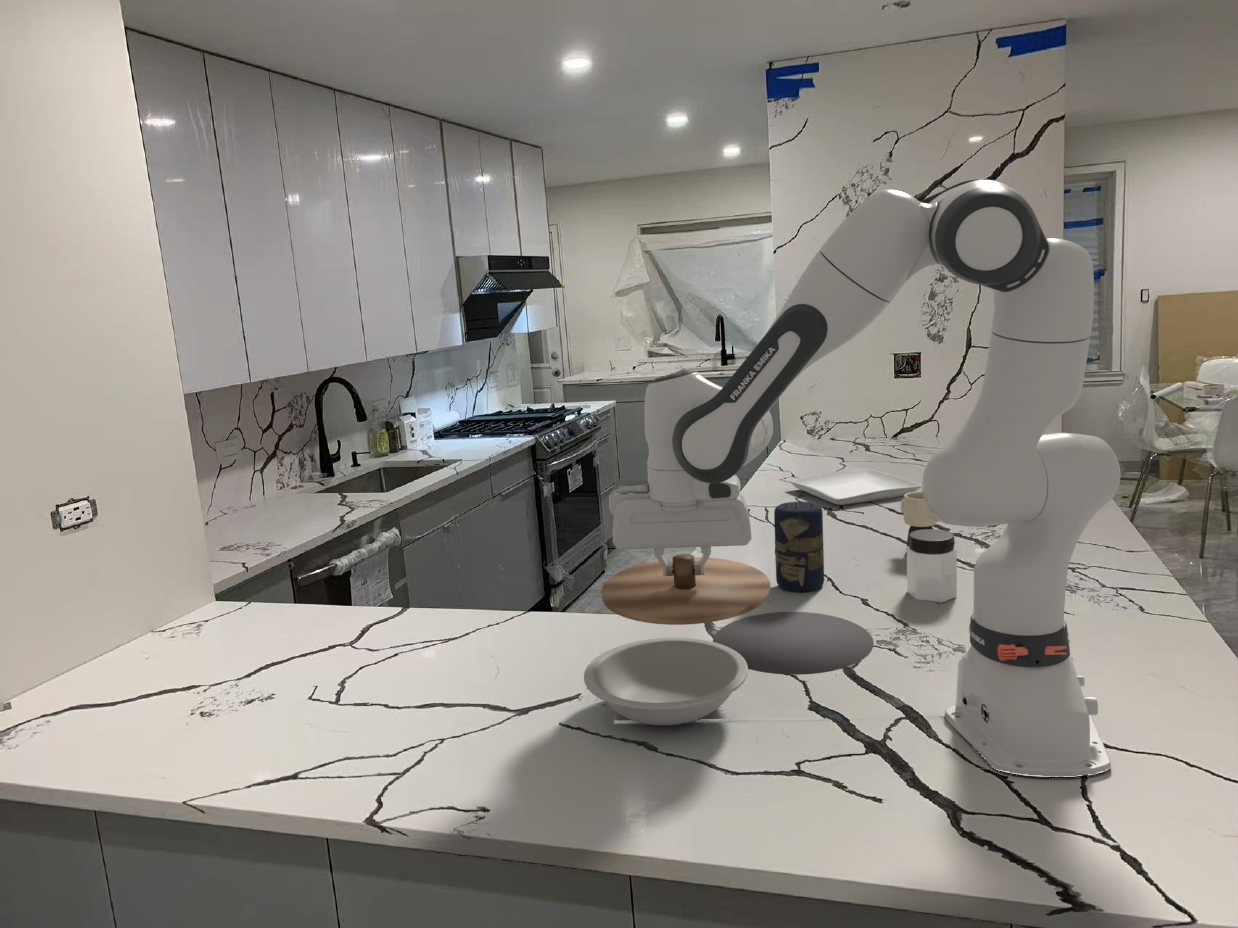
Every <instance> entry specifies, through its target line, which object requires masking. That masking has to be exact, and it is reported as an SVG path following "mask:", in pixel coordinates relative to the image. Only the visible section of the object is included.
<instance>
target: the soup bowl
mask: <svg viewBox="0 0 1238 928" xmlns="http://www.w3.org/2000/svg"><path fill="white" fill-rule="evenodd" d="M748 672H749V669H748V666H747V663H746V661H745V659H744V658H743V657H742V656H741V655H740V654H739V653H737V652H736V651H734V650H733V649H731V648H729V647H727V646H724V645H721V644H718V643H715V642H713V641H710V640H705V639H699V638H693V637H692V638H689V637H658V638H650V639H642V640H637V641H633V642H629V643H625V644H621V645H619V646H616V647H614V648H611V649H609V650H607V651H604V652H603V653H601V654H600V655H598V656H596V657H595V658H594V659H593V660H591V661H590V662H589V664H588V665H587V667H586V668H585V670H584V673H583V681H584V685H585V687H586V688H587V690H588V691H589V692H590V693H591V694H592V695H593V696H595V697H596V698H598V699H600V700H602V701H603V702H604V703H605V704H606V705H607V706H608V707H609V708H610V709H612V710H613V711H614V712H615V713H617V714H618V715H621V716H622V717H624V718H626V719H629V720H630V721H633V722H636V723H640V724H645V725H650V726H651V725H652V726H675V725H682V724H688V723H691V722H695V721H697V720H700V719H702V718H704V717H706V716H708V715H710V714H712V713H713V712H715V711H716V710H717V709H718V708H720V707H721V706H722V705H723V704H724V703H725V702H726V701H727V700H728V698H729V697H730V696H731V695H732V694H733V692H736V691H737V690H738V689H739V688H740V687H741V686H742V685H743V684H744V682H745V681H746V680H747V677H748Z"/></svg>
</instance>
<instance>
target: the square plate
mask: <svg viewBox="0 0 1238 928" xmlns="http://www.w3.org/2000/svg"><path fill="white" fill-rule="evenodd" d="M788 482H789V483H790V484H791V485H793V487H794V488H796V489H797V490H798V489H799V490H800V491H802V492H805V493H808V494H810V495H812V496H814V497H817V498H820V499H822V500H824V501H826V502H829V503H832V504H834V505H838V506H846V505H854V504H859V503H861V504H862V503H867V502H873V501H878V500H886V499H892V498H896V497H897V498H898V497H901V496H904V495H905V494H907V493H911V492H918V491H919V489H922V483H917V482H914V481H911V480H909V479H906V478H903V477H900V476H896V475H893V474H890V473H886V472H882V471H880V470H879V471H878V470H875V469H870V468H862V469H853V470H843V471H835V472H828V473H822V474H817V475H816V474H815V475H811V476H806V477H800V478H795V479H794V478H793V479H789V481H788Z"/></svg>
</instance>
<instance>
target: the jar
mask: <svg viewBox="0 0 1238 928" xmlns="http://www.w3.org/2000/svg"><path fill="white" fill-rule="evenodd" d="M906 548H907V550H906V591H907V593H908V594H909V595H910V596H912V598H914V600H919V601H931V602H933V603H938V604H942V603H944V602H947V601H950V600H952V599H955V598H956V597H957V596H958V595H957V594H958V593H957V592H958V591H957V583H958V581H957V578H958V576H957V575H958V574H957V571H958V569H957V567H958V566H957V565H958V564H957V563H958V562H957V561H958V559H957V557H958V555H957V553H958V552H957V551H958V550H957V549H956V548H955V535H954V534H953V532H950V531H947V530H943V529H935V528H933V529H923V530H917V531H913V532H911V533H910V534H909V546H908V547H907V546H906Z"/></svg>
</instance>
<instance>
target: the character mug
mask: <svg viewBox="0 0 1238 928" xmlns="http://www.w3.org/2000/svg"><path fill="white" fill-rule="evenodd" d="M900 511H901V514H903V521H904V524H906V525H908V526H909V528H908V534H907V541H906V551H907V547H908V546H909V534H910V533H911V532H913V531H917V530H923V529H934V527H933V526H935V525H937V523H940V522H941V521H940V520H939V519H938V518H937V517H935V515H934V514H933V513H932V512H931V511H930V509H929V508H928V506H927V504H926V502H925V499H924V496H923V491H915V492H911V493H907V494H905V495H903V499H901V501H900Z"/></svg>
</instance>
